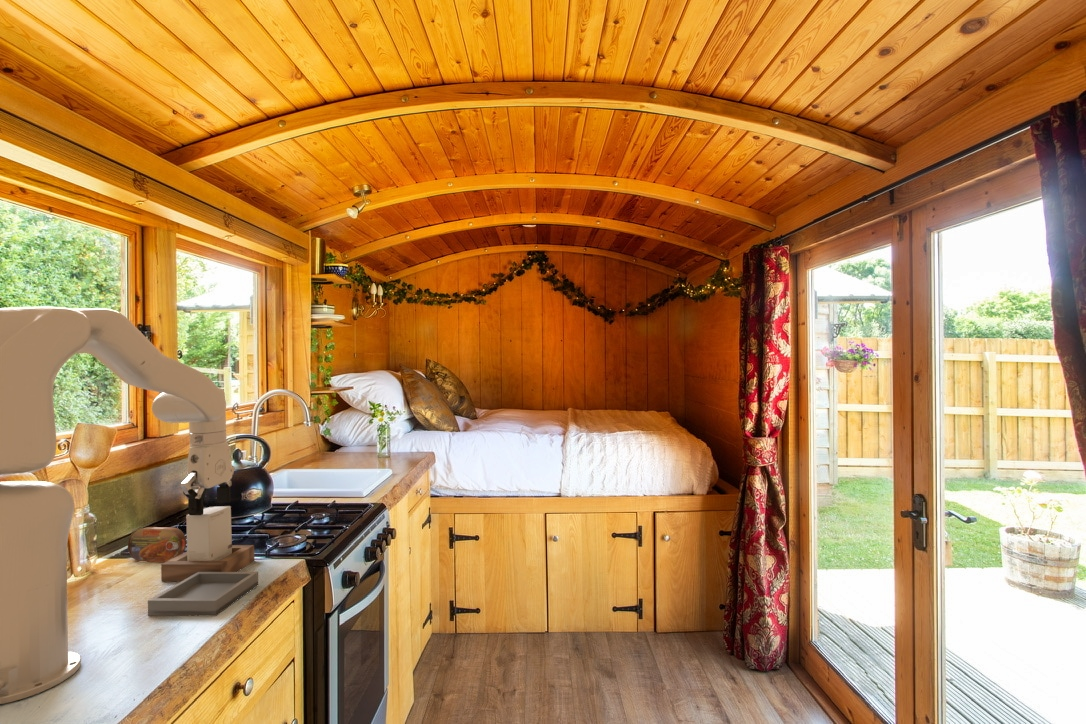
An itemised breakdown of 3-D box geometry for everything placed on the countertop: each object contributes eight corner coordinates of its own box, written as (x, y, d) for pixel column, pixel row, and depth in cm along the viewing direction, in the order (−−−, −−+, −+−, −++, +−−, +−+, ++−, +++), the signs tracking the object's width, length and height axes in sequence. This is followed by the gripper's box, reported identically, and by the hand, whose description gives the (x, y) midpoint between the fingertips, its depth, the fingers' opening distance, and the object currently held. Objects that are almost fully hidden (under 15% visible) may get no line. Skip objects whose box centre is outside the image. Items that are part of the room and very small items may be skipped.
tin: (126, 561, 131) (126, 528, 132) (138, 556, 135) (137, 524, 135) (178, 563, 129) (178, 530, 129) (188, 558, 132) (188, 526, 133)
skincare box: (210, 577, 120) (208, 514, 120) (185, 577, 120) (184, 514, 120) (233, 563, 128) (232, 504, 128) (210, 563, 129) (209, 504, 129)
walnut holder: (221, 581, 118) (221, 564, 118) (161, 581, 118) (161, 564, 118) (254, 560, 130) (254, 545, 130) (199, 560, 131) (199, 545, 131)
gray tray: (215, 615, 101) (215, 600, 101) (148, 615, 102) (147, 600, 102) (258, 585, 115) (258, 571, 115) (198, 585, 116) (198, 571, 116)
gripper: (197, 445, 116) (200, 520, 116) (245, 433, 133) (247, 498, 133) (165, 445, 116) (168, 520, 116) (217, 433, 133) (219, 498, 134)
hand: (210, 508), depth 125 cm, fingers open, 9 cm apart
